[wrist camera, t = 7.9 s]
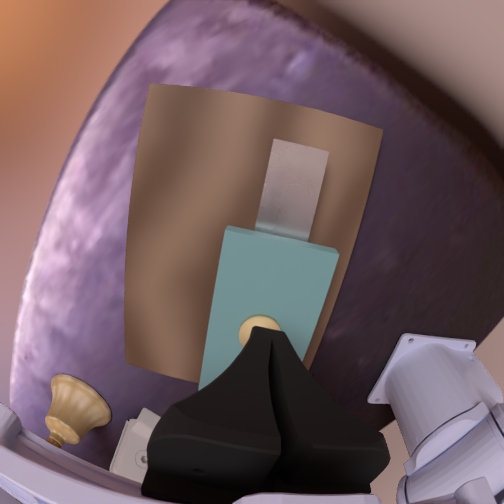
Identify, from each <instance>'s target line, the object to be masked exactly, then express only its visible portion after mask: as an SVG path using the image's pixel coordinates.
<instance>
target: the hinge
mask: <svg viewBox="0 0 504 504" xmlns="http://www.w3.org/2000/svg"><path fill="white" fill-rule="evenodd" d="M160 418H161V417H159V416H158V415H156V414H154V413H153V412H151V411H150V410H148V409H146V408H143V409H142V411H141V413H140V415H139V416H138V418H137V419H130V420H129V421H128V420H127V422H126V424H125V427H124V430H123V432H122V435H121V438H120V440H119V443H118V446H117V449H116V451H115V454H114V457H113V460H112V463H111V465H110V472H112V473H114V474H117V475H120V476H122V477H125V478H128V479H131V480H133V481H136V482H139V483H143V480H144V477H145V474H146V471H147V468H148V466H147V449H146V448H147V444H148V441H149V438H150V436H151V433H152V431H153V429H154V427H155V426H156V424H157V422H158V421H159V420H160Z"/></svg>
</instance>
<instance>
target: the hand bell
mask: <svg viewBox="0 0 504 504" xmlns="http://www.w3.org/2000/svg"><path fill="white" fill-rule="evenodd" d="M51 390H52V394H53V399H52V404H51V407H50V410H49V412H48V414H47V416H46V419H45V422H46V425H47V427H48V428H49V429H50V431H51V434H50V436H49V438H47V440H46V441H47V442H49V443H50V444H52V445H54V446H56V447H58V448H60V449H61V447H62V446H63V444H64V443H65V442H67V443H70V444H77V443H79V442H80V440H81V439H82V438H83V436H84V435H85V434H86V433H87V432H88V431H89V430H90V429H92V428H94V427H96V426H103V425H105V424H107V423H109V422H110V420H111V411H110V408H109V406H108V404H107V403H106V402H105V400H104V399H103V398H102V397H101V396H100V395H99V394H98V393H97V392H96V391H95V390H94V389H93V388H91V387H90V386H89V385H88V384H86V383H85V382H83V381H81V380H79V379H77V378H75V377H73V376H70V375H66V374H58V375H55V376H54V377H53V378H52V381H51ZM15 499H16V498H15ZM16 500H17V499H16ZM18 501H19V500H18ZM19 502H20V501H19ZM21 503H22V502H21ZM22 504H23V503H22Z"/></svg>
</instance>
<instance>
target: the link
mask: <svg viewBox="0 0 504 504" xmlns="http://www.w3.org/2000/svg"><path fill="white" fill-rule="evenodd" d="M328 155H329V151H325V150H321V149H317V148H313V147H309V146H305V145H301V144H296V143H292V142H288V141H283V140H278V139H273V144H272V148H271V153H270V158H269V163H268V167H267V172H266V177H265V182H264V186H263V191H262V196H261V201H260V205H259V210H258V215H257V220H256V225H255V229H254V231H258V232H262V233H267V234H272V235H276V236H281V237H286V238H290V239H295V240H299V241H304V242H308V238H309V234H310V230H311V226H312V222H313V218H314V214H315V210H316V206H317V202H318V198H319V194H320V190H321V186H322V181H323V177H324V173H325V168H326V164H327V159H328Z"/></svg>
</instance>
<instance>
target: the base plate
mask: <svg viewBox="0 0 504 504" xmlns="http://www.w3.org/2000/svg"><path fill="white" fill-rule="evenodd" d="M382 134H383V130H382V129H379V128H376V127H373V126H370V125H367V124H364V123H361V122H358V121H354V120H351V119H348V118H345V117H341V116H338V115H334V114H331V113H327V112H324V111H320V110H316V109H312V108H308V107H304V106H300V105H296V104H292V103H287V102H283V101H278V100H273V99H268V98H263V97H258V96H253V95H247V94H241V93H235V92H229V91H222V90H215V89H207V88H198V87H189V86H179V85H166V84H150V85H149V89H148V94H147V98H146V103H145V108H144V113H143V118H142V123H141V128H140V134H139V140H138V146H137V152H136V158H135V165H134V172H133V180H132V188H131V197H130V206H129V217H128V229H127V243H126V260H125V292H124V325H125V355H126V363H127V364H130V365H133V366H136V367H140V368H143V369H146V370H150V371H153V372H157V373H160V374H164V375H167V376H171V377H175V378H179V379H183V380H187V381H191V382H195V383H200V376H201V370H202V363H203V356H204V350H205V343H206V337H207V331H208V325H209V318H210V312H211V306H212V300H213V295H214V289H215V283H216V277H217V271H218V266H219V260H220V254H221V249H222V243H223V238H224V233H225V229H226V227H227V225H229V226H234V227H239V228H244V229H248V230H253V231H254V229H255V225H256V220H257V215H258V210H259V205H260V201H261V196H262V191H263V186H264V182H265V177H266V172H267V167H268V163H269V158H270V153H271V148H272V144H273V139H278V140H283V141H288V142H292V143H296V144H301V145H305V146H309V147H313V148H317V149H321V150H325V151H329V155H328V159H327V164H326V168H325V173H324V177H323V181H322V186H321V190H320V194H319V198H318V202H317V206H316V210H315V214H314V218H313V222H312V226H311V230H310V234H309V238H308V243H313V244H317V245H322V246H326V247H330V248H335V249H336V250H337V252H338V253H339V258H338V261H337V264H336V267H335V271H334V274H333V277H332V280H331V283H330V286H329V289H328V292H327V295H326V298H325V301H324V304H323V307H322V310H321V313H320V315H319V318H318V321H317V324H316V327H315V329H314V332H313V335H312V338H311V340H310V343H309V346H308V348H307V351H306V354H305V356H304V359H303V361H302V363H303V364H304V366H305V367H306V369H307V370H308V371H309V369H310V366H311V364H312V362H313V359H314V357H315V354H316V352H317V349H318V347H319V344H320V342H321V339H322V336H323V334H324V331H325V329H326V326H327V323H328V321H329V318H330V315H331V312H332V310H333V307H334V304H335V301H336V298H337V296H338V293H339V290H340V287H341V284H342V281H343V278H344V275H345V272H346V269H347V266H348V263H349V260H350V256H351V253H352V250H353V247H354V243H355V240H356V237H357V233H358V230H359V227H360V223H361V220H362V216H363V212H364V209H365V205H366V201H367V198H368V194H369V190H370V186H371V182H372V178H373V174H374V170H375V166H376V161H377V157H378V152H379V148H380V143H381V139H382Z"/></svg>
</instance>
